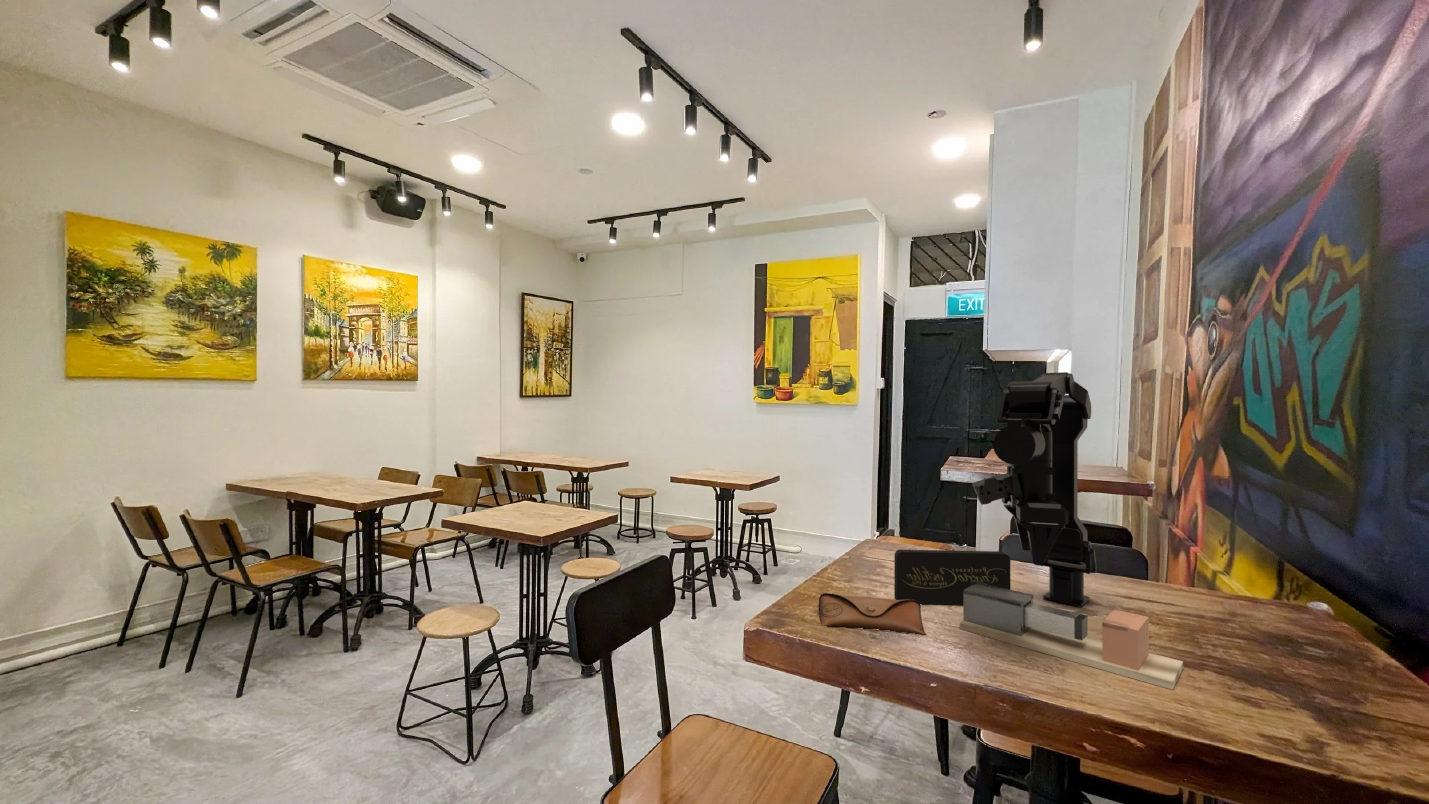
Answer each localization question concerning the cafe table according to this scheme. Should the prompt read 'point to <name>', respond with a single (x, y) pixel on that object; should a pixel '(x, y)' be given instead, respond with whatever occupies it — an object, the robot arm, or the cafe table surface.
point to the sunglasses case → (870, 613)
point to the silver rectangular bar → (1055, 620)
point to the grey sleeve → (996, 608)
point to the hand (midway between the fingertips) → (1031, 557)
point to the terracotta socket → (1125, 639)
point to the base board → (1086, 653)
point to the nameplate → (947, 574)
